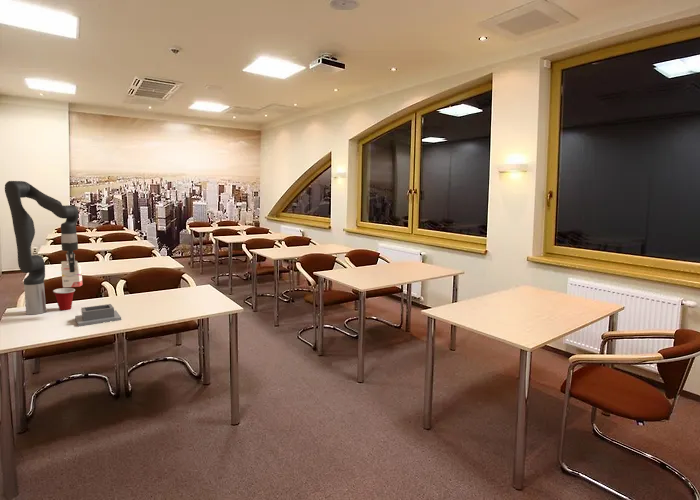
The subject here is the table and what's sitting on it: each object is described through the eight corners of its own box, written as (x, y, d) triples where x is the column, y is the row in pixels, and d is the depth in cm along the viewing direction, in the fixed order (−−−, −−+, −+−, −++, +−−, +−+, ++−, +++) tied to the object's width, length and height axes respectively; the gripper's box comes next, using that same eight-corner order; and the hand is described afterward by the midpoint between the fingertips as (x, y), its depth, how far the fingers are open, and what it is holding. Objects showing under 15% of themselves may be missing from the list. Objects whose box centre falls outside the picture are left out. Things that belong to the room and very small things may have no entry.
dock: (78, 326, 218) (77, 314, 217) (75, 318, 232) (74, 307, 231) (121, 320, 230) (120, 308, 230) (116, 312, 244) (115, 301, 243)
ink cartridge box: (82, 284, 239) (81, 259, 237) (79, 286, 234) (78, 260, 232) (65, 285, 236) (63, 259, 234) (62, 287, 232) (60, 261, 230)
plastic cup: (65, 312, 243) (64, 292, 241) (50, 311, 245) (48, 291, 243) (81, 307, 253) (79, 288, 252) (65, 306, 255) (64, 287, 254)
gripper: (60, 240, 235) (62, 269, 237) (62, 243, 224) (64, 273, 226) (76, 239, 240) (78, 268, 242) (78, 242, 228) (80, 272, 231)
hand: (71, 271), depth 234 cm, fingers closed on ink cartridge box, 6 cm apart
